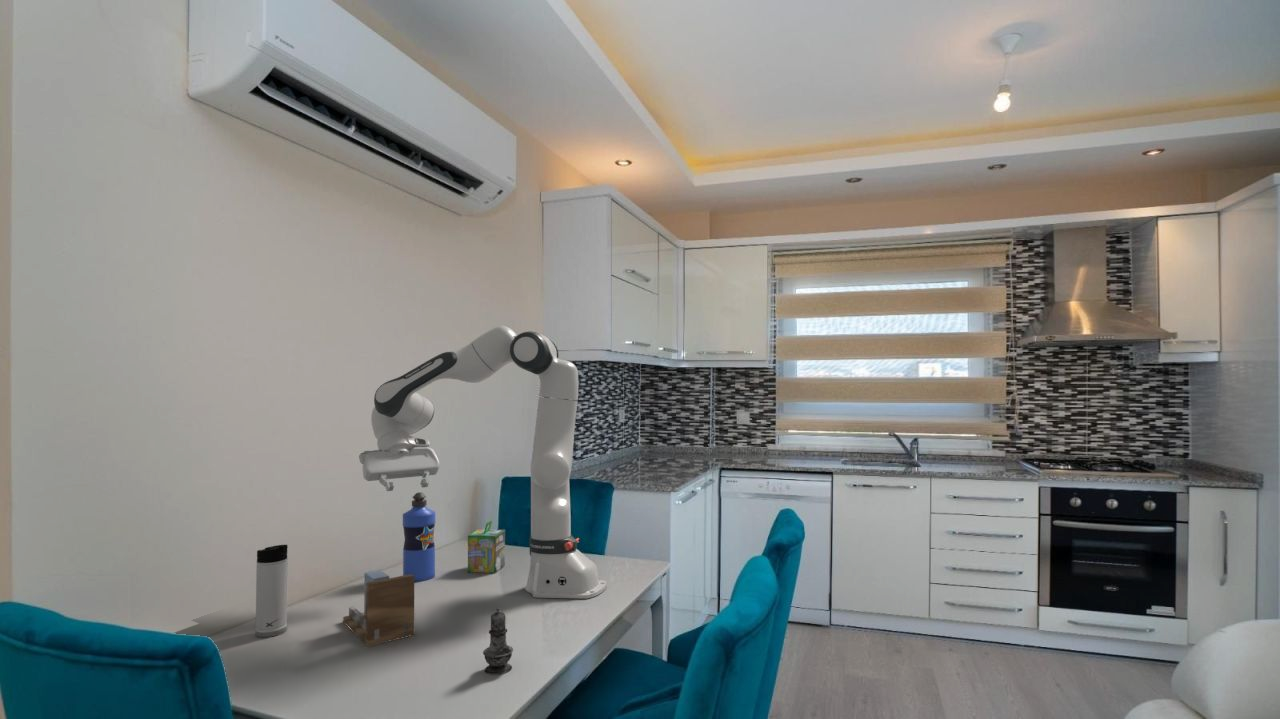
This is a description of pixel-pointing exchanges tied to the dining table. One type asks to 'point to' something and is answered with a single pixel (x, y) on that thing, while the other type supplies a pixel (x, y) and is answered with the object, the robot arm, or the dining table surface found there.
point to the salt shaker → (498, 646)
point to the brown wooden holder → (385, 611)
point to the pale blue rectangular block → (369, 578)
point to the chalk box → (486, 550)
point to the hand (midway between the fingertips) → (408, 487)
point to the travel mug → (271, 591)
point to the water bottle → (419, 540)
